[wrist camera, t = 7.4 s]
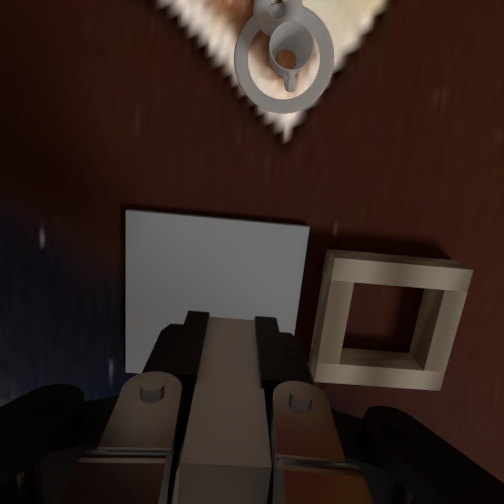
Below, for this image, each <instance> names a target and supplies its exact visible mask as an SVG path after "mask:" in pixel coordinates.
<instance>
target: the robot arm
mask: <svg viewBox="0 0 504 504" xmlns="http://www.w3.org/2000/svg"><path fill="white" fill-rule="evenodd" d="M209 317H210V312H202V311H190V310H188V313H187V315H186V318H185V321H184V324H169V325H168V326H167V327H165V328H164V329H163V330H161V332H160V334H159V336H158V338H157V342H156V343H155V345H154V347H153V349H152V351H151V354H150V356H149V358H148V360H147V362H146V365H145V367H144V369H143V371H142V373H141V374H139V375H137V376H134V377H133V378H131V379H130V380H129V381H127V383H126V384H125V385H124V387H123V389H122V391H121V393H120V394H119V395H116V396H113V397H109V398H104V399H97V400H91V401H85V402H84V394H83V392H82V390H81V389H79V388H78V387H76V386H73V385H70V384H52V385H47V386H43V387H40V388H37V389H35V390H33V391H30V392H29V393H27V394H25V395H23V396H21V397H19V398H17V399H15V400H13V401H11V402H9V403H7V404H5V405H3V406H1V407H0V487H1V486H3V485H4V484H5V483H7V482H8V481H10V480H11V479H13V478H14V477H15V476H17V482H18V484H17V485H16V486H14V487H13V488H11V489H10V490H9V491H7V492H6V493H4V494H3V495H2V496H0V504H173V501H174V494H175V487H176V480H177V470H178V468H179V465H180V460H181V455H182V450H183V445H184V440H185V435H186V430H187V425H188V420H189V415H190V410H191V405H192V400H193V394H194V389H195V384H196V383H197V377H198V372H199V367H200V362H201V357H202V352H203V346H204V341H205V336H206V331H207V326H208V320H209ZM254 320H255V329H256V340H257V352H258V363H259V374H260V385H261V389H264V395H265V405H266V415H267V424H268V434H269V444H270V454H271V464H272V470H271V477H270V484H269V490H268V497H267V504H410V503H411V500H412V496H414V497H415V498H416V499H417V500H418V501H419V502H420V503H421V504H504V483H503V482H501V481H500V480H498V479H497V478H496V477H494V476H493V475H492V474H490V473H489V472H487V471H486V470H485V469H483V468H482V467H480V466H479V465H478V464H476V463H475V462H474V461H472V460H471V459H469V458H468V457H467V456H465V455H464V454H463V453H461V452H460V451H458V450H457V449H456V448H454V447H453V446H452V445H450V444H449V443H447V442H446V441H445V440H443V439H442V438H441V437H439V436H438V435H436V434H435V433H434V432H432V431H431V430H430V429H428V428H427V427H425V426H424V425H423V424H421V423H420V422H418V421H417V420H416V419H414V418H413V417H412V416H410V415H408V414H407V413H405V412H403V411H401V410H398V409H396V408H393V407H388V406H374V407H371V408H369V409H368V410H367V411H366V412H365V414H364V418H363V419H361V418H357V417H354V416H351V415H347V414H344V413H341V412H339V411H337V410H334V409H333V408H331V407H330V405H329V401H328V399H327V397H326V396H325V394H324V393H323V392H322V391H321V390H319V389H318V388H316V387H315V386H313V382H312V379H311V376H310V373H309V370H308V367H307V364H306V361H305V357H304V354H303V352H302V348H301V345H300V342H299V340H298V339H296V338H295V337H294V336H293V335H292V334H291V333H287V332H280V331H279V327H278V323H277V318H276V317H264V316H255V319H254Z"/></svg>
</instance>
